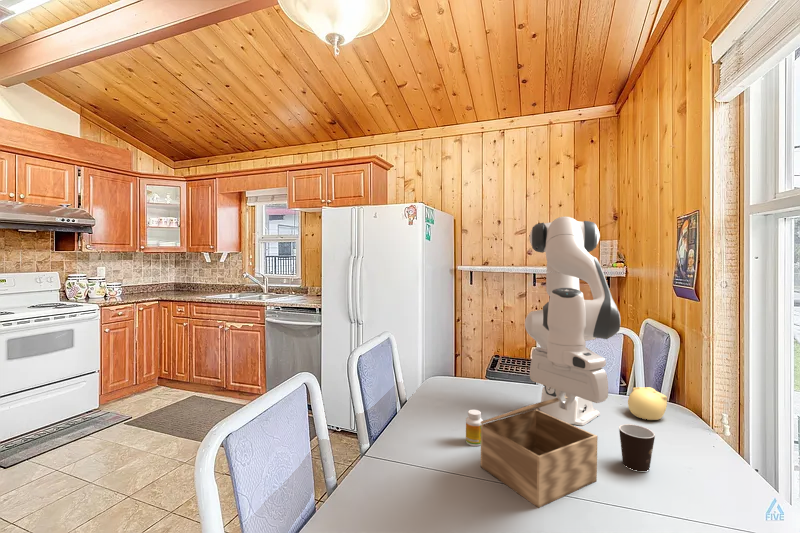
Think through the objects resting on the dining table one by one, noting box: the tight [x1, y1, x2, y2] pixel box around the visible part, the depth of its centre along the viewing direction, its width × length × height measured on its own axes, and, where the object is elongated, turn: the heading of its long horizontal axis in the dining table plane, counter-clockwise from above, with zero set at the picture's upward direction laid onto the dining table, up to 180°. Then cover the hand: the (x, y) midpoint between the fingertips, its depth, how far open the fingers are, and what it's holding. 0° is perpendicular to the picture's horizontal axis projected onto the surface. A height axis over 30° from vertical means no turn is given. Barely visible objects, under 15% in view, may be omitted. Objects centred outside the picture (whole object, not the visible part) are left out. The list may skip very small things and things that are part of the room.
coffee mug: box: [618, 423, 656, 471], centre depth 110 cm, size 12×9×10 cm
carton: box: [480, 409, 599, 509], centre depth 105 cm, size 22×20×12 cm
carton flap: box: [481, 396, 568, 424], centre depth 106 cm, size 22×20×1 cm
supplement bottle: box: [465, 409, 484, 447], centre depth 122 cm, size 5×5×10 cm
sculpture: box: [627, 386, 668, 421], centre depth 142 cm, size 12×12×11 cm
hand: (565, 408), depth 97 cm, fingers closed
